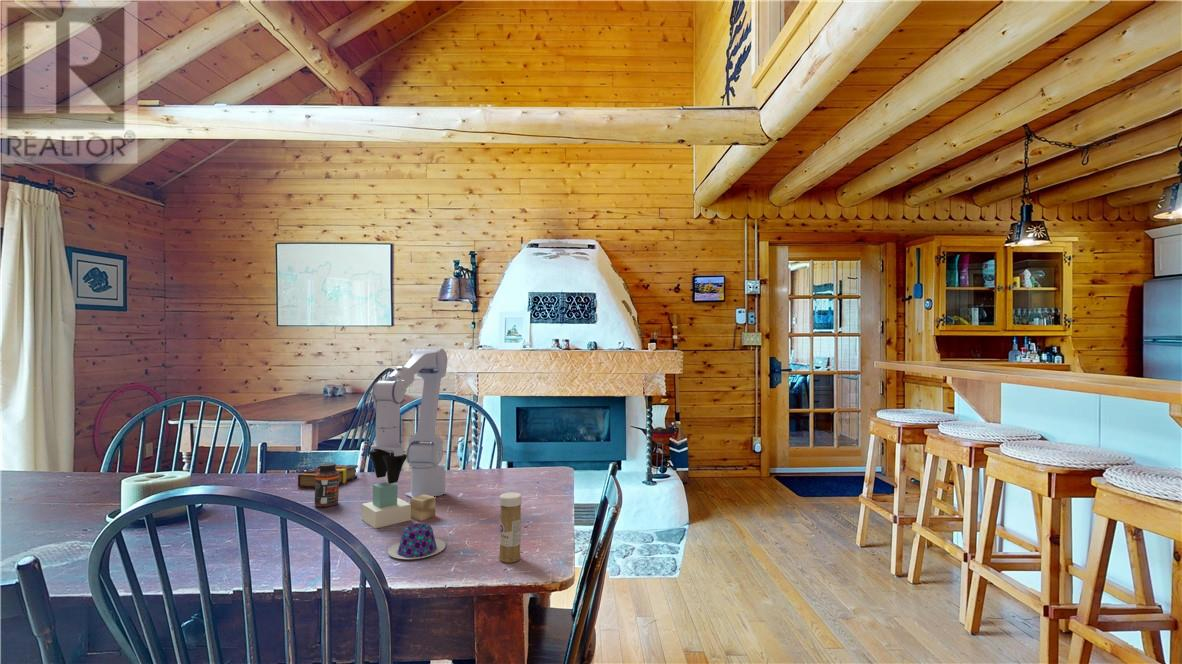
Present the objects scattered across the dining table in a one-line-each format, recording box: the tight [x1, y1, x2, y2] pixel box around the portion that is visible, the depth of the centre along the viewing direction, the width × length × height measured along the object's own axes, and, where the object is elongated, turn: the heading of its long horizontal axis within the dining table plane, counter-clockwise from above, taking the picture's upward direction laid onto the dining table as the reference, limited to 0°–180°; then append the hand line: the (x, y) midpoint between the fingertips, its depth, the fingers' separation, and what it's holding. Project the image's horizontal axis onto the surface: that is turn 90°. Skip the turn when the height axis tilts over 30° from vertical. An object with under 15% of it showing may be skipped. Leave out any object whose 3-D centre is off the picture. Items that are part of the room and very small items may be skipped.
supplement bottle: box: [314, 462, 340, 508], centre depth 143 cm, size 6×6×11 cm
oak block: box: [409, 495, 437, 522], centre depth 133 cm, size 4×4×5 cm
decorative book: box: [297, 464, 359, 489], centre depth 167 cm, size 11×16×5 cm
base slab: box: [361, 497, 412, 529], centre depth 131 cm, size 9×9×4 cm
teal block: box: [372, 481, 398, 508], centre depth 131 cm, size 4×4×5 cm
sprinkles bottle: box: [498, 491, 523, 564], centre depth 107 cm, size 5×5×13 cm
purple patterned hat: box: [387, 523, 447, 560], centre depth 111 cm, size 12×12×5 cm
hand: (386, 479), depth 131 cm, fingers open, 7 cm apart
